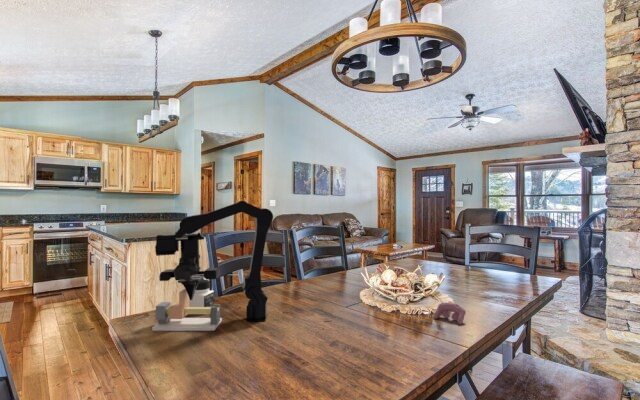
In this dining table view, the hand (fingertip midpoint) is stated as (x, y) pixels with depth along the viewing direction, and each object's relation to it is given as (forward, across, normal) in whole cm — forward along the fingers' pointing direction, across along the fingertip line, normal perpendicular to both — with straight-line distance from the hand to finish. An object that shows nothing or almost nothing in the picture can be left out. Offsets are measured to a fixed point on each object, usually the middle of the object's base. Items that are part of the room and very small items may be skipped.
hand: (191, 299), depth 112 cm
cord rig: (+9, -1, 0) cm, 9 cm away
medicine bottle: (+9, -2, +15) cm, 18 cm away
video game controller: (+12, +90, +6) cm, 91 cm away
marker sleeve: (+5, -4, 0) cm, 7 cm away
